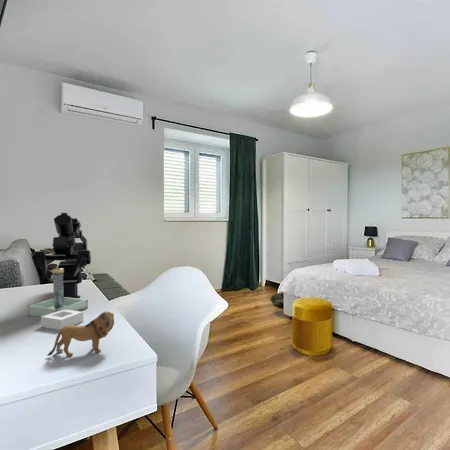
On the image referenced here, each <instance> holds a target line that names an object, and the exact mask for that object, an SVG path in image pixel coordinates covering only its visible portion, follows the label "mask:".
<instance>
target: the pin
mask: <svg viewBox="0 0 450 450" xmlns="http://www.w3.org/2000/svg"><path fill="white" fill-rule="evenodd" d="M63 272H64V268H58V267H57V268H53V269H51V274H52V278H53V279H52V281H53V283H52V284H53V288H52V289H53V299H54V309H58V308H62V307H64V296H63Z"/></svg>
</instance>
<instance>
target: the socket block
mask: <svg viewBox="0 0 450 450" xmlns="http://www.w3.org/2000/svg"><path fill="white" fill-rule="evenodd" d="M83 322H84V311H73V310H66V309H63V310H60V311H57V312H54V313H51V314H48V315H45V316H42V317H40V327H41V328H47V329H53V330H56V331H57V330H58V331H60V330H61V329H62V328H63V327H65V326H68V325H74V326H76V325H78V324H81V323H83Z"/></svg>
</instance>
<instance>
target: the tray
mask: <svg viewBox="0 0 450 450" xmlns="http://www.w3.org/2000/svg"><path fill="white" fill-rule="evenodd" d="M88 308H89V299H84V298H69V297H64V307H62V308H58V309H54V298H51V299H47V300H44V301H41V302H40V301H39V302H37V303H32V304H29V305H27V316H33V317H40V318H41V317H42V316H45V315H48V314H51V313H54V312H57V311H60V310H63V309H66V310H73V311H80V312H82V311H83V310H86V309H88Z"/></svg>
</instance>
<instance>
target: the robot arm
mask: <svg viewBox="0 0 450 450" xmlns="http://www.w3.org/2000/svg"><path fill="white" fill-rule="evenodd" d="M53 221H54V228H55V231H56V233H57V235H58V236H54V237H53V239H52V247H53V249H52V251H53V253H54V254H48V253H47V251H45V250H39V251H38V250H37V251H36V250H35V251H33V252H32V254H31V259H32V262H33V264H34V266H35V267H38V268H41V271H42V277H43V279H46V278H47V274H48V273H47V272H48V267H49V266H48V264H49V261H60V262H59V264H58V265H57V268H64V272H63V296H64V297H69V298H77V299H80V298H81V295H78V292H79V291H78V286H79V284H81V283H82V282H83V281H82V280H83V277H82V271H81V270H82V269H83V267H87V265H91V263H92V262H91V261H92V256H91V251H90V249H88V240H87V238H86V237H85V236H84V235H83V230H81V226H82V224H81V222H80V220H78V218H76V217H75V218H74V217H72V216H70V215H68V212H60V214H58V215H57V216H55V218H53ZM76 239H80V240H81V241H82V242H76Z"/></svg>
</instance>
